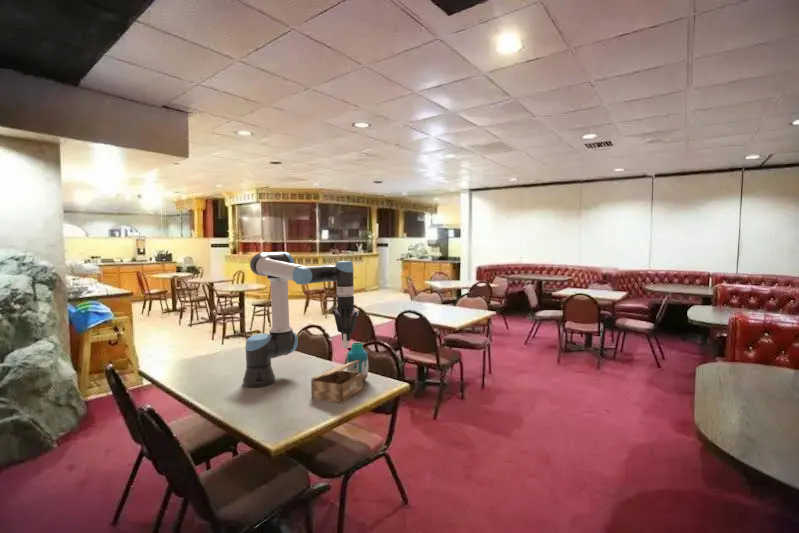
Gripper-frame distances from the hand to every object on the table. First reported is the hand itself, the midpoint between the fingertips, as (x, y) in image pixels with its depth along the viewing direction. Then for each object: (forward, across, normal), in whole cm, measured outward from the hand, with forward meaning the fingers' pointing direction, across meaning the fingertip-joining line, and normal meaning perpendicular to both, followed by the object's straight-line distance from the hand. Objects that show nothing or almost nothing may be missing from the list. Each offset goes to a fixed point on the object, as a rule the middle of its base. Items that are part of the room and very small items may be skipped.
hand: (346, 347), depth 181 cm
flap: (+11, -6, 0) cm, 12 cm away
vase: (+22, -5, +18) cm, 29 cm away
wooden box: (+22, -5, 0) cm, 22 cm away
